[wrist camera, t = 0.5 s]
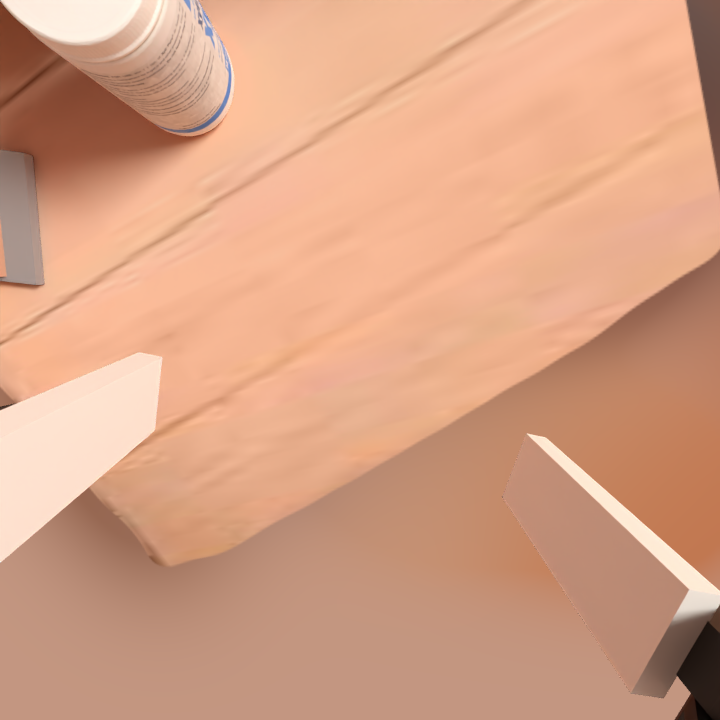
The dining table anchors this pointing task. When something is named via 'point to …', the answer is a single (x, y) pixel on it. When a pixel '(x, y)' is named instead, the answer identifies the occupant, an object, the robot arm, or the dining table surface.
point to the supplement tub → (141, 55)
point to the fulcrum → (19, 220)
